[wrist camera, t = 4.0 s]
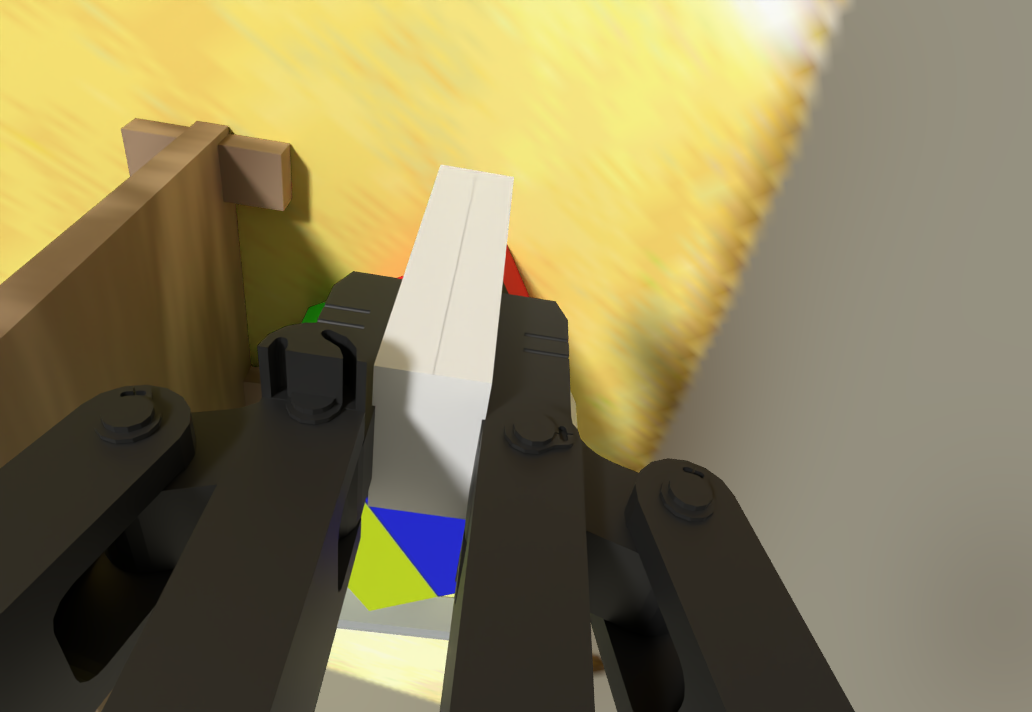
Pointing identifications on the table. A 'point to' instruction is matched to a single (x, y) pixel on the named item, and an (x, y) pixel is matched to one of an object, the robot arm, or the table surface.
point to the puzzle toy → (412, 530)
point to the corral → (400, 617)
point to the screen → (142, 285)
